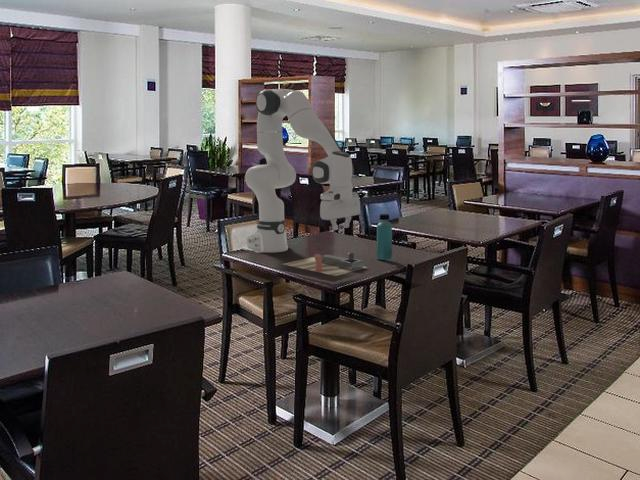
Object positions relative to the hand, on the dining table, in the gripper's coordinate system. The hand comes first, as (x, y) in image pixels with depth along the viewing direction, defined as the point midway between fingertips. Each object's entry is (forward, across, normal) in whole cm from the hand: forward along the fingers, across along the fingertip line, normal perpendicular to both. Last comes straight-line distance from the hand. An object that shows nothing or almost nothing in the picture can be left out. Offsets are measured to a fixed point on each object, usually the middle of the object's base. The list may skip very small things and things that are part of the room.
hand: (340, 228), depth 257 cm
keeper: (+15, +10, -3) cm, 18 cm away
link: (+15, 0, 0) cm, 15 cm away
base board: (+16, +4, -5) cm, 17 cm away
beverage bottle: (+16, -21, +5) cm, 27 cm away
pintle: (+16, 0, +5) cm, 17 cm away
